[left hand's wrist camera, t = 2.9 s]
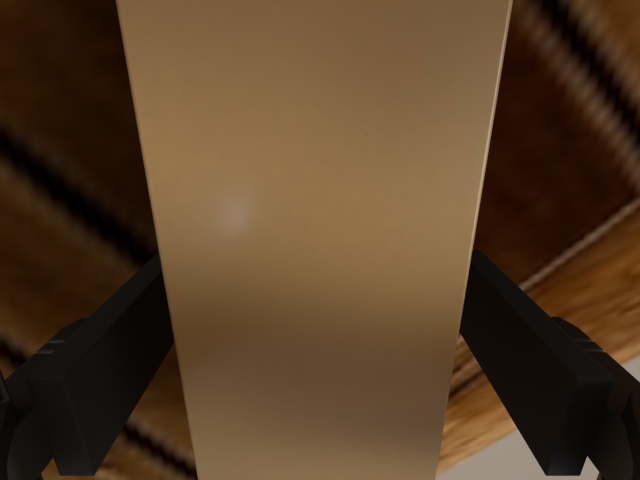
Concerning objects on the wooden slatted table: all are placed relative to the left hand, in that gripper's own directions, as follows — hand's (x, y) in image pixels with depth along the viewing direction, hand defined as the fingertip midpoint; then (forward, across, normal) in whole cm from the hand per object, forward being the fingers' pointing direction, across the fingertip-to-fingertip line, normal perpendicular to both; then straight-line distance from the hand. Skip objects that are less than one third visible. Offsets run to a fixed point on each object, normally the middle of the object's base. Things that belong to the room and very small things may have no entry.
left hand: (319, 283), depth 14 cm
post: (+2, 0, -20) cm, 20 cm away
